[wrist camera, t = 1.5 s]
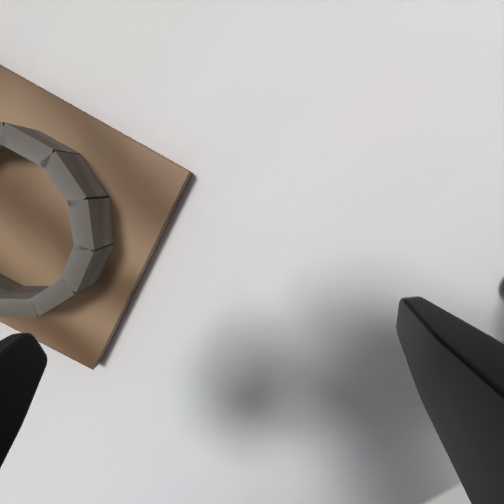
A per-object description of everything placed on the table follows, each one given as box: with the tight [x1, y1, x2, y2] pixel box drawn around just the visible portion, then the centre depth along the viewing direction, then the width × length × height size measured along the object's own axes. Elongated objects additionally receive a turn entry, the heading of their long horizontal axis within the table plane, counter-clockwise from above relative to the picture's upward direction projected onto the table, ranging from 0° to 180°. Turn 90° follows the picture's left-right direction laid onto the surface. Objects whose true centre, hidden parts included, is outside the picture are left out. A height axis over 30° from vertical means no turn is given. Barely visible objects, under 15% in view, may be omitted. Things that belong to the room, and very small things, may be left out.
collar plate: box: [0, 65, 192, 369], centre depth 20 cm, size 16×16×4 cm
